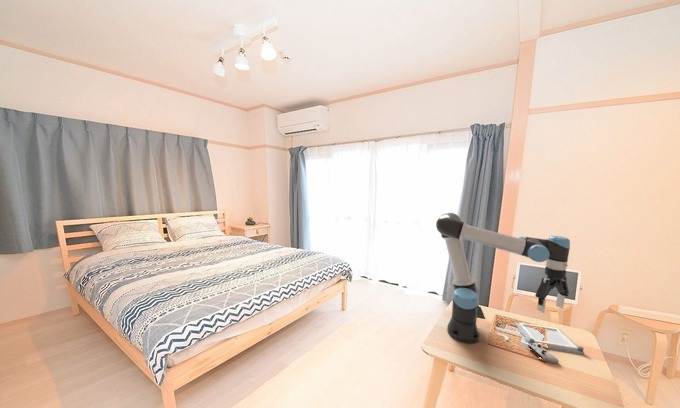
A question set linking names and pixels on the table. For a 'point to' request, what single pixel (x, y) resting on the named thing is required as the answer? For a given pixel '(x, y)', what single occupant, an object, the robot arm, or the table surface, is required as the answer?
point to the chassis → (550, 338)
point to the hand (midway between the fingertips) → (550, 309)
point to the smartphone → (480, 313)
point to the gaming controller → (543, 353)
